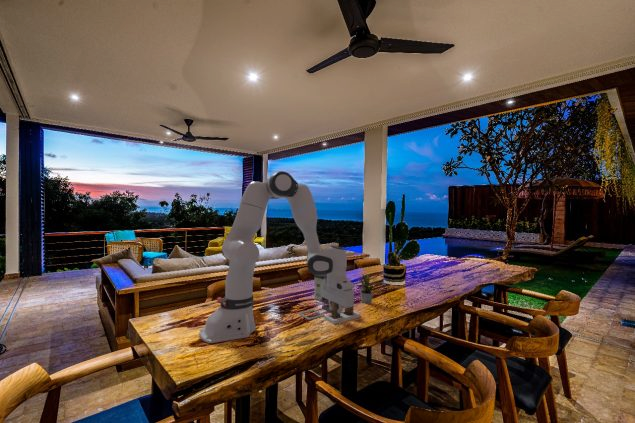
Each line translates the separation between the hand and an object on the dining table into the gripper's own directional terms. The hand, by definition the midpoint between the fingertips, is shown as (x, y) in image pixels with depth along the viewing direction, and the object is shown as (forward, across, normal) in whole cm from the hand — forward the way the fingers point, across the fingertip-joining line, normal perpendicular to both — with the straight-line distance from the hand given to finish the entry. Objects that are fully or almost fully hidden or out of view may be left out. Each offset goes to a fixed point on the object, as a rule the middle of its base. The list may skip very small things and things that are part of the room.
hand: (335, 311), depth 136 cm
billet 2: (+4, 0, +8) cm, 9 cm away
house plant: (+5, -13, +31) cm, 34 cm away
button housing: (+5, -12, +7) cm, 15 cm away
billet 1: (+2, 0, 0) cm, 2 cm away
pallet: (+5, 0, +4) cm, 6 cm away
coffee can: (+5, -30, +15) cm, 34 cm away
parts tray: (+5, -11, -6) cm, 13 cm away
